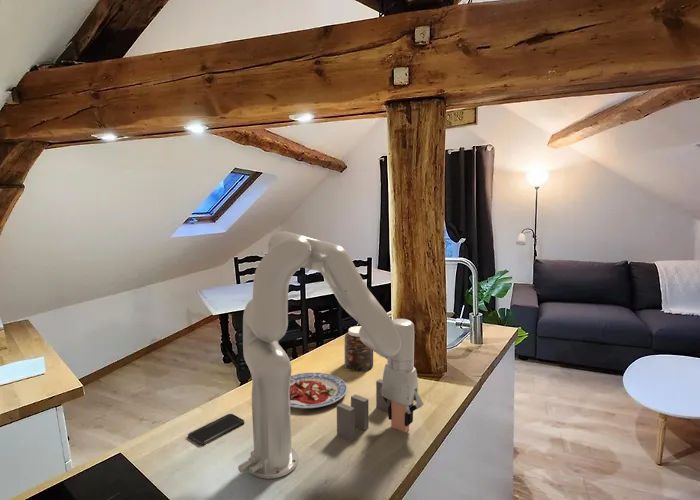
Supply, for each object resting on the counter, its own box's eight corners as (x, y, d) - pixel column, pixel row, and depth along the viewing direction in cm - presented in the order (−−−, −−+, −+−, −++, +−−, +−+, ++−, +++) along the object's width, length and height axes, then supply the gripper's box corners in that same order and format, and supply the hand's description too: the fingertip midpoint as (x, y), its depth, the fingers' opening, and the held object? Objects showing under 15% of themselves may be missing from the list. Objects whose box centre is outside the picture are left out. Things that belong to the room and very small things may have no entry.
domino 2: (364, 430, 125) (364, 401, 124) (351, 424, 128) (350, 396, 127) (368, 427, 126) (368, 399, 125) (355, 422, 129) (355, 394, 128)
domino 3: (389, 412, 135) (389, 385, 134) (376, 407, 138) (376, 381, 137) (392, 409, 136) (392, 383, 135) (379, 405, 139) (379, 379, 138)
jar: (379, 367, 169) (379, 330, 166) (354, 374, 162) (354, 336, 160) (362, 357, 179) (362, 323, 176) (338, 363, 172) (338, 328, 170)
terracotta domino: (405, 432, 124) (405, 403, 122) (391, 426, 127) (391, 398, 125) (409, 429, 125) (409, 400, 124) (394, 423, 128) (395, 395, 127)
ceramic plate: (258, 407, 139) (257, 398, 139) (291, 374, 164) (291, 367, 163) (332, 419, 132) (332, 410, 131) (356, 382, 156) (356, 375, 156)
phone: (245, 421, 129) (201, 444, 118) (246, 424, 129) (202, 448, 118) (230, 412, 134) (186, 434, 122) (230, 416, 134) (186, 437, 123)
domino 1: (350, 441, 120) (350, 411, 119) (337, 434, 123) (336, 405, 122) (354, 437, 121) (354, 408, 120) (341, 431, 124) (341, 402, 123)
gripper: (369, 359, 125) (369, 416, 128) (420, 374, 115) (419, 437, 117) (383, 351, 131) (383, 406, 134) (433, 365, 121) (432, 425, 123)
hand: (400, 420), depth 126 cm, fingers closed on terracotta domino, 4 cm apart
